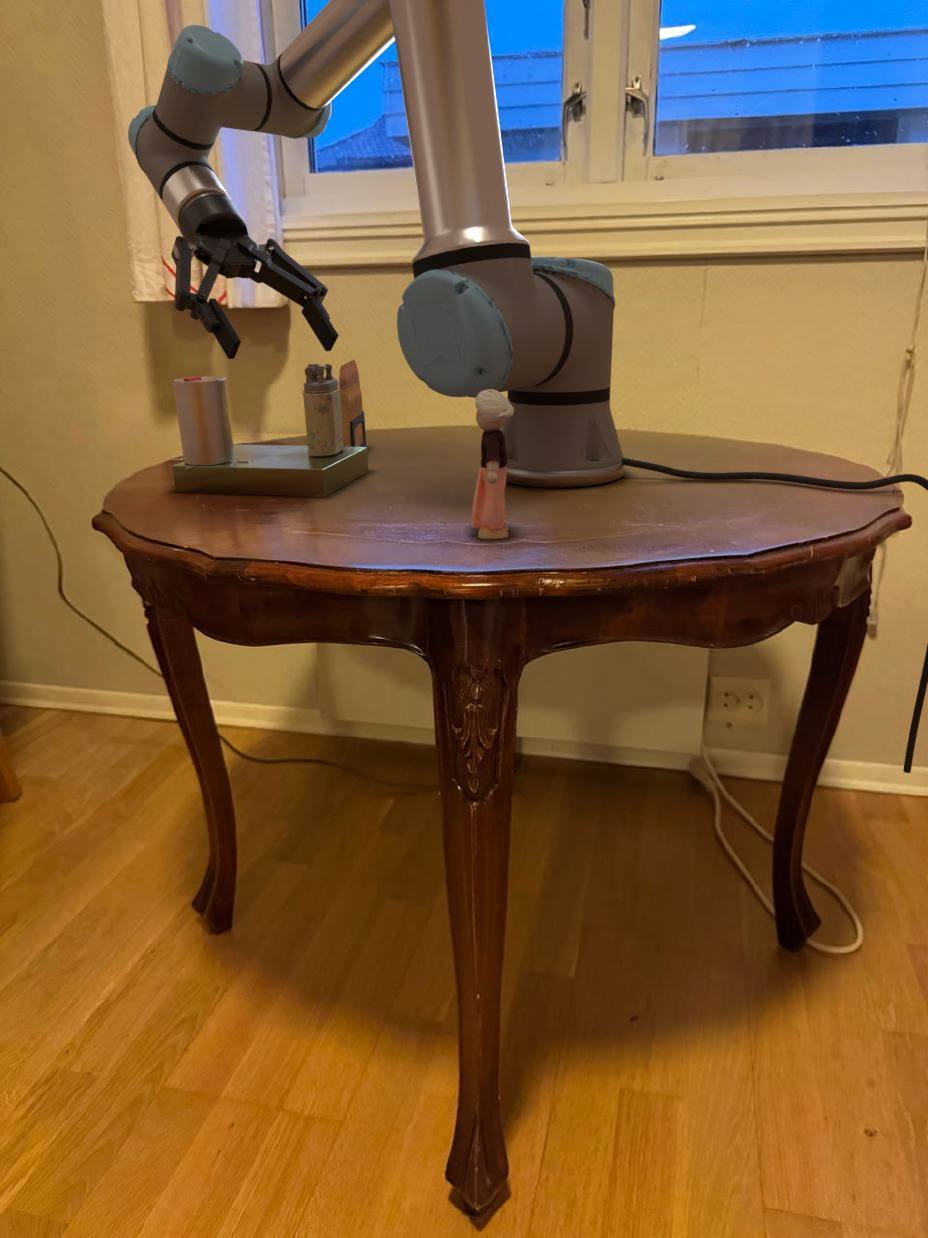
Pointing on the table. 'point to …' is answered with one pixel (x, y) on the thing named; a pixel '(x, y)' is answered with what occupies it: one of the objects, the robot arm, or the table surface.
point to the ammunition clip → (351, 406)
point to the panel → (274, 472)
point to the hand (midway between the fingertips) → (285, 346)
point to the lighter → (322, 411)
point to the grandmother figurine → (491, 466)
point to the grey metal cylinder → (204, 420)
